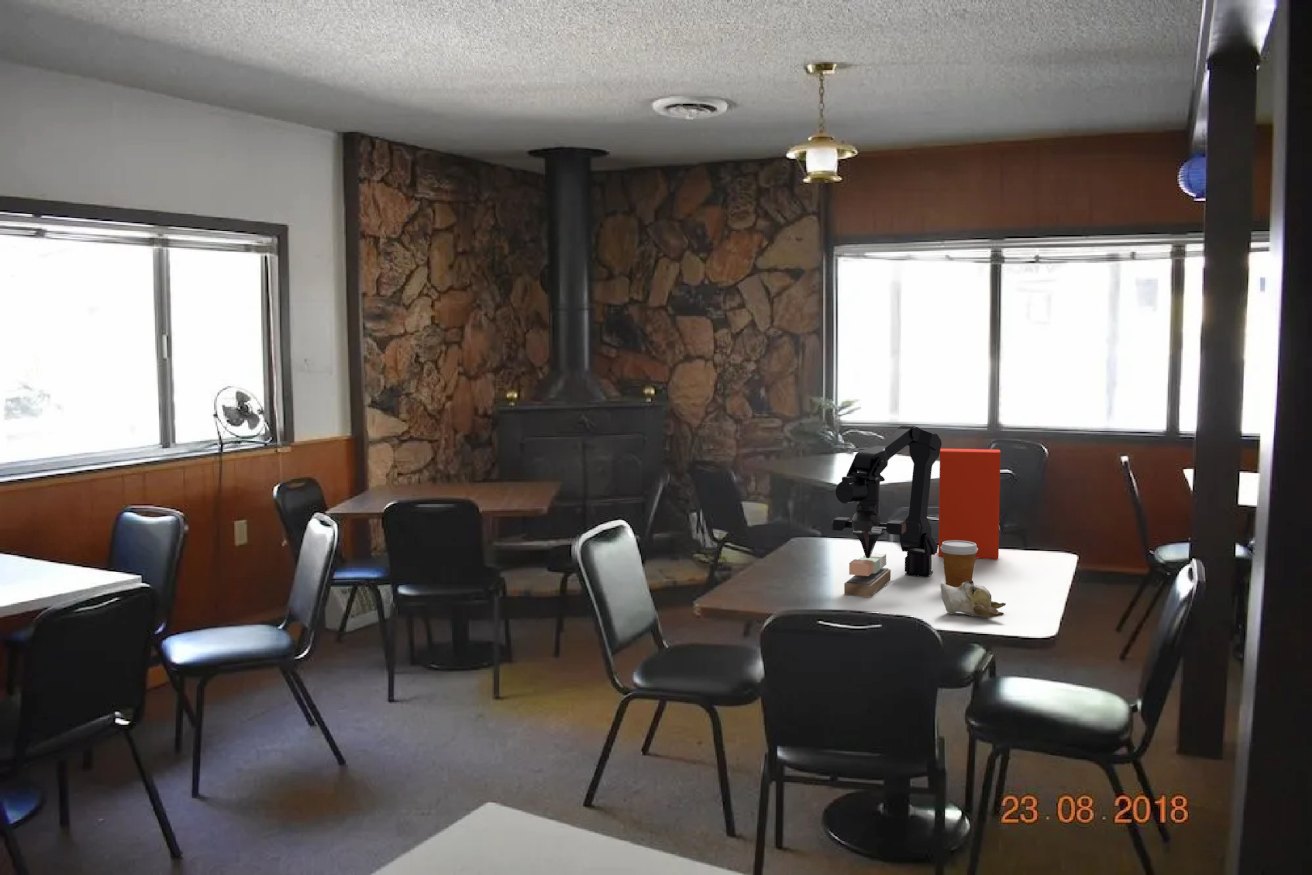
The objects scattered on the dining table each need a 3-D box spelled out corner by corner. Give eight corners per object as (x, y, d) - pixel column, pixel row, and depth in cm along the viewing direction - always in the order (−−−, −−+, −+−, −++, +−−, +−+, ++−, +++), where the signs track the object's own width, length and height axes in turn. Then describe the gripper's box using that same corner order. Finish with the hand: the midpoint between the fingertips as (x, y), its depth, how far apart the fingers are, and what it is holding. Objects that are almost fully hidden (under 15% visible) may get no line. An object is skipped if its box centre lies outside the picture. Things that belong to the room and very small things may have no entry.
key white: (886, 564, 292) (886, 553, 292) (881, 568, 288) (881, 557, 287) (867, 563, 294) (868, 552, 294) (863, 566, 290) (863, 555, 290)
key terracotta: (873, 572, 279) (873, 560, 279) (868, 576, 275) (868, 564, 275) (854, 570, 282) (854, 559, 281) (849, 574, 277) (849, 562, 277)
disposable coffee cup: (957, 594, 276) (958, 548, 275) (932, 587, 285) (932, 542, 284) (985, 590, 281) (986, 544, 280) (959, 582, 289) (960, 538, 288)
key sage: (879, 569, 286) (880, 558, 286) (875, 573, 281) (875, 562, 281) (861, 568, 288) (861, 557, 288) (856, 571, 283) (856, 560, 283)
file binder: (998, 559, 319) (1000, 452, 316) (938, 556, 324) (939, 451, 321) (997, 554, 327) (999, 449, 324) (938, 551, 332) (940, 448, 329)
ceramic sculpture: (943, 572, 263) (1007, 579, 257) (940, 606, 264) (1004, 615, 258) (938, 581, 253) (1005, 590, 248) (936, 617, 254) (1002, 626, 249)
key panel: (890, 580, 293) (890, 568, 293) (871, 597, 274) (871, 584, 274) (865, 578, 296) (865, 565, 296) (844, 594, 277) (844, 581, 277)
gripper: (825, 501, 280) (825, 560, 281) (897, 505, 272) (896, 566, 273) (837, 495, 290) (836, 553, 291) (906, 499, 282) (906, 558, 283)
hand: (868, 557), depth 284 cm, fingers closed
